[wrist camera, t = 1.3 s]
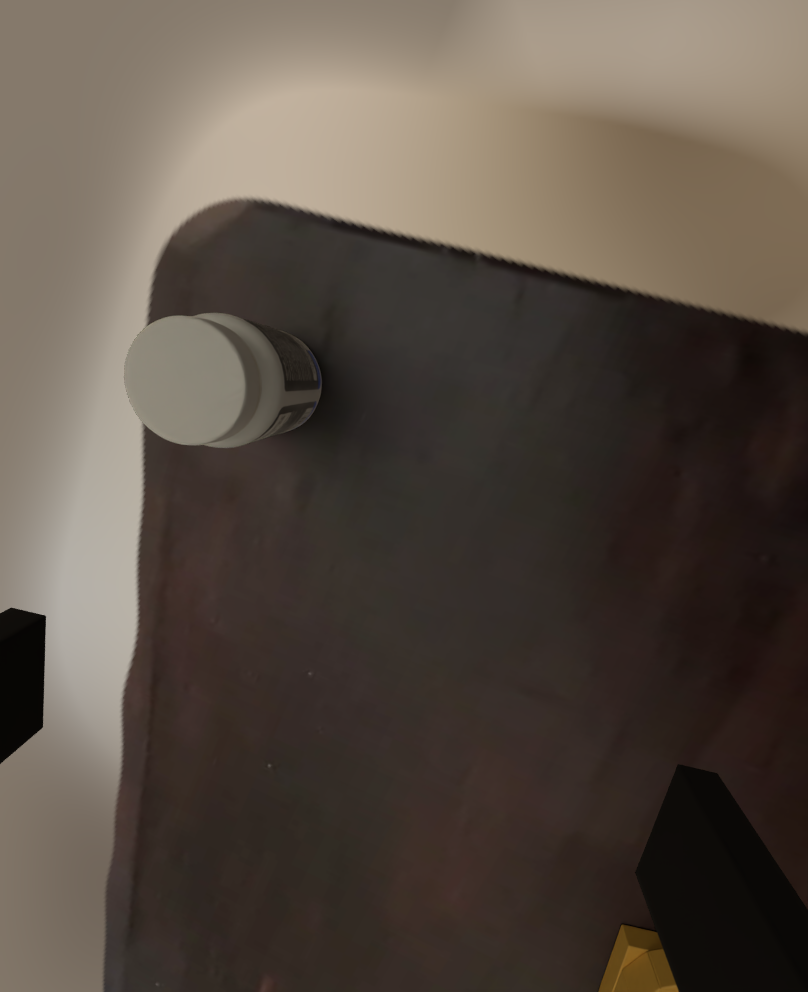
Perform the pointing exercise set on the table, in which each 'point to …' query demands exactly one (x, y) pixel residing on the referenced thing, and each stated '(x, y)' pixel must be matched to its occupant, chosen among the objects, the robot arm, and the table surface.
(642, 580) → the table surface
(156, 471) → the table surface
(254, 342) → the pill bottle
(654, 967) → the button box
